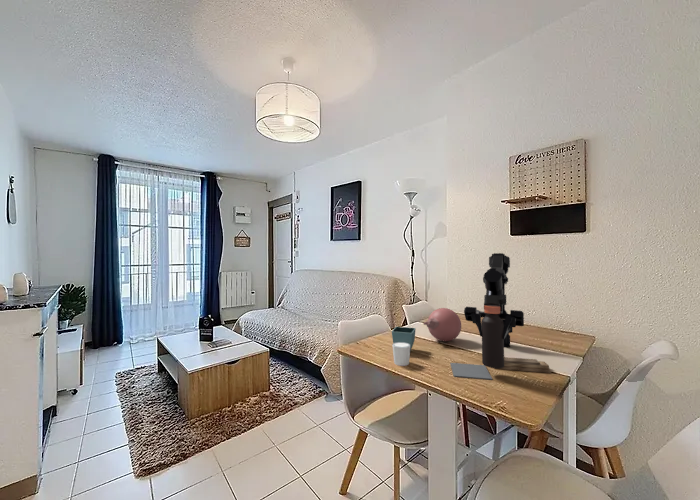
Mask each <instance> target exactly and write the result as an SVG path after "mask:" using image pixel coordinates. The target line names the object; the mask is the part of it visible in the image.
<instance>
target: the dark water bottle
mask: <svg viewBox="0 0 700 500" xmlns="http://www.w3.org/2000/svg"><path fill="white" fill-rule="evenodd" d="M483 310H484V311H483V312H485V314H486V316H485V317H482V319H481V324H482V337H481V362H482V365H485V366H486V368H487V367H488V368H490V369H495V368H503V367H504V357H505V347H504V339H503V331H504V322H503V320H502V319H501V318H500V317H499V315H500V306H496V305H485V306H484V305H483Z"/></svg>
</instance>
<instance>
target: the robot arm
mask: <svg viewBox="0 0 700 500" xmlns="http://www.w3.org/2000/svg"><path fill="white" fill-rule="evenodd" d="M488 266H489V269H487V270H486V272H484V274H483V277H482V281H483V283H484V287H485V290H486V292H485V295H484V298H483V300H484V302H483V307H484V306H485V305H496V306H500V315H499V317H500V318H501V319H502V320H503V322H504V331H503V339H504V348H505V347H506V348H510V347H511V335H510V334H511V333H513V328H516V326H517V327H524V326H525V322H524V321H525V313H524V311H523V310H514V309H510V310H509V311H510V313H508V311H507V310H506V306H507V294H506V291H505V289H506V287H505V286H506V285H507V284H508V282H509V277H508V276H507V274H508V273H509V268H511V258H510V257H509V256H507V255H506V254H505V253H503V252H501V253H500V252H499V253H498V252H497V253H496V252H494V253H492V254H491V256H489V257H488ZM463 313H464V319H465V321H467V322H472V323H473V324H475V325H476V328H477V331H478V333H479V335H480V337H481V338H482V319H481V318H484V317H485V316H486V314H485V312H484V311H482V310H479V309H477V307H476V306H466V307H464V310H463Z"/></svg>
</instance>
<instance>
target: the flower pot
mask: <svg viewBox="0 0 700 500" xmlns="http://www.w3.org/2000/svg"><path fill="white" fill-rule="evenodd" d="M391 338H392V344H393V343H397V342H404V343H408V344H410V351H411V350H412V348H413V346H414V343H415V340H416V339H415V338H416V327H405V326H395V327H394V328H393V329H392V330H391Z"/></svg>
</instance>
